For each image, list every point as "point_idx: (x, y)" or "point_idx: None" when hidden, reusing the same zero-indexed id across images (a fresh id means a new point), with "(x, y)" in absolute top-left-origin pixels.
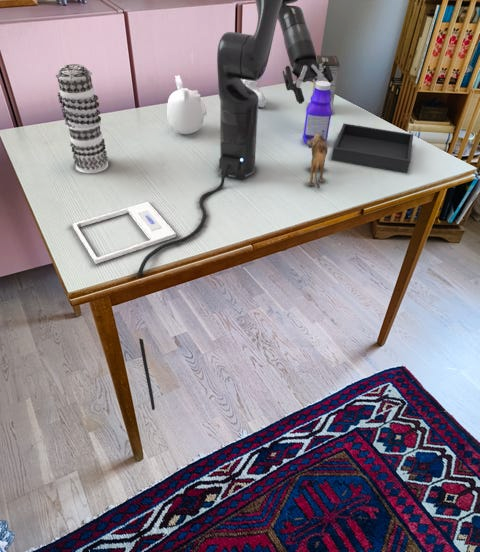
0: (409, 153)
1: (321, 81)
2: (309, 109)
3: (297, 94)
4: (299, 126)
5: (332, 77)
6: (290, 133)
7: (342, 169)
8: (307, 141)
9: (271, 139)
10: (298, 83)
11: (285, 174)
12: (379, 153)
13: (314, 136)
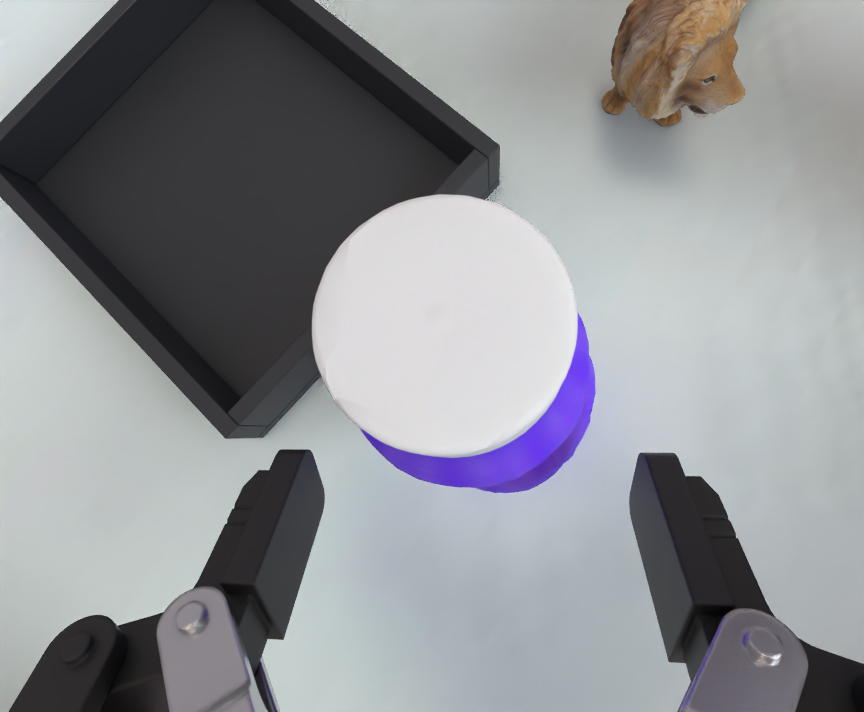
0: None
1: (429, 397)
2: (591, 370)
3: (739, 543)
4: (444, 661)
5: (40, 670)
6: (559, 584)
7: (500, 81)
8: (741, 91)
9: None
10: (756, 690)
11: (835, 118)
12: (231, 144)
13: (734, 12)
